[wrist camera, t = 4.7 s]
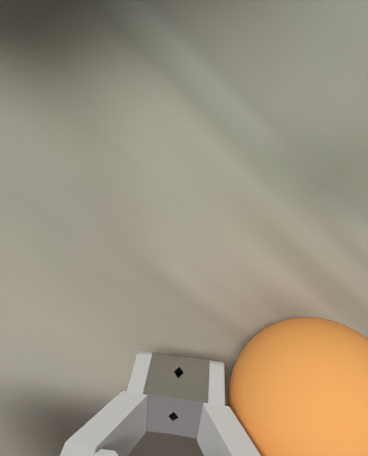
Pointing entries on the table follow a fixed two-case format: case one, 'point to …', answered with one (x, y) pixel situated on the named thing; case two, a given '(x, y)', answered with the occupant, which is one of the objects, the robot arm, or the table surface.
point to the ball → (303, 389)
